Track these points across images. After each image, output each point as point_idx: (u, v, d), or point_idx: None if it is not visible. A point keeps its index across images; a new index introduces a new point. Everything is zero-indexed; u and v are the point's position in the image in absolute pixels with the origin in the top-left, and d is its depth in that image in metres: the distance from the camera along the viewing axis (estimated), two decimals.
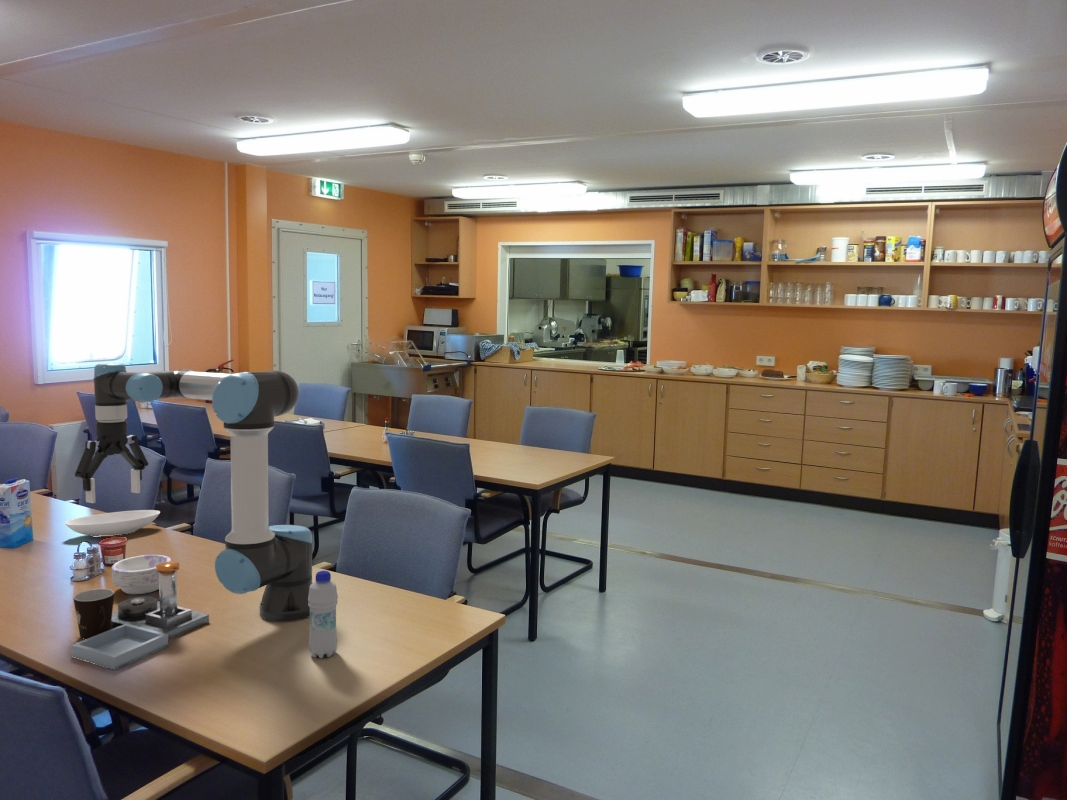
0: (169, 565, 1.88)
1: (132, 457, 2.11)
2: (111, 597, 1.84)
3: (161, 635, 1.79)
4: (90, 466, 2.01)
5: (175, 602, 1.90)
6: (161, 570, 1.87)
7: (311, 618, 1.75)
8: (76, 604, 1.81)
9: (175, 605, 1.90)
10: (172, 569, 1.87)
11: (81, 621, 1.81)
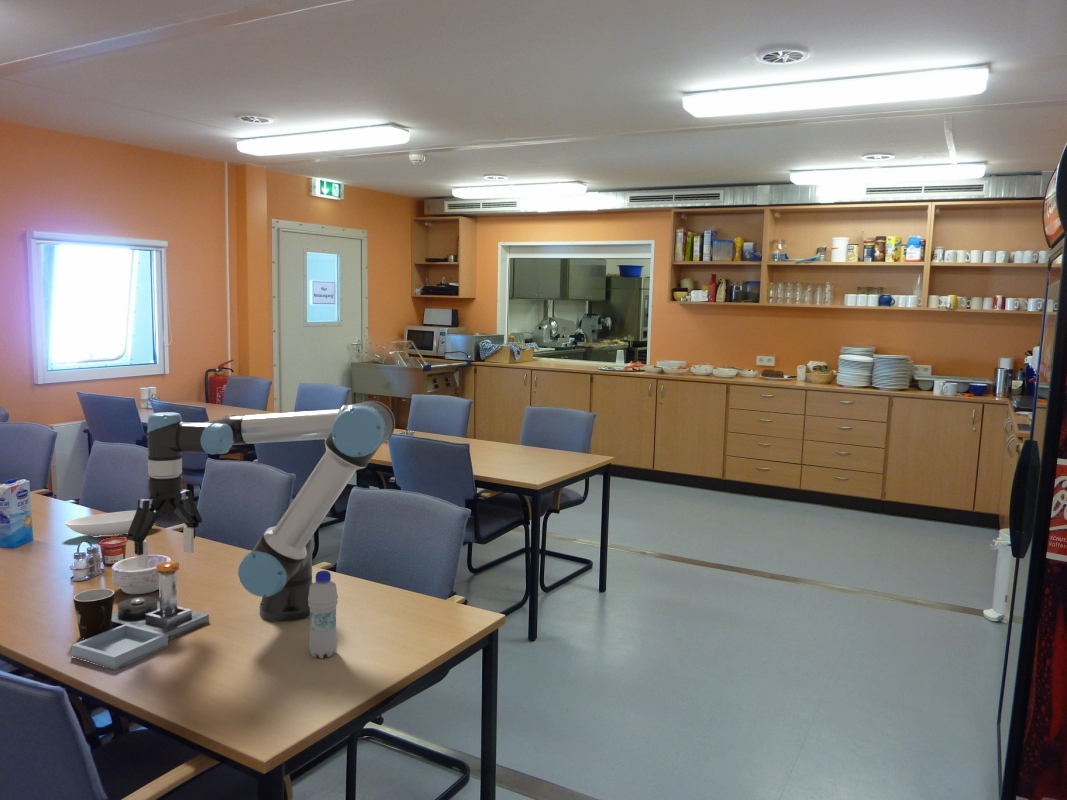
0: (169, 565, 1.88)
1: (186, 514, 1.92)
2: (111, 597, 1.84)
3: (161, 635, 1.79)
4: (142, 527, 1.82)
5: (175, 602, 1.90)
6: (161, 570, 1.87)
7: (311, 618, 1.75)
8: (76, 604, 1.81)
9: (175, 605, 1.90)
10: (172, 569, 1.87)
11: (81, 621, 1.81)
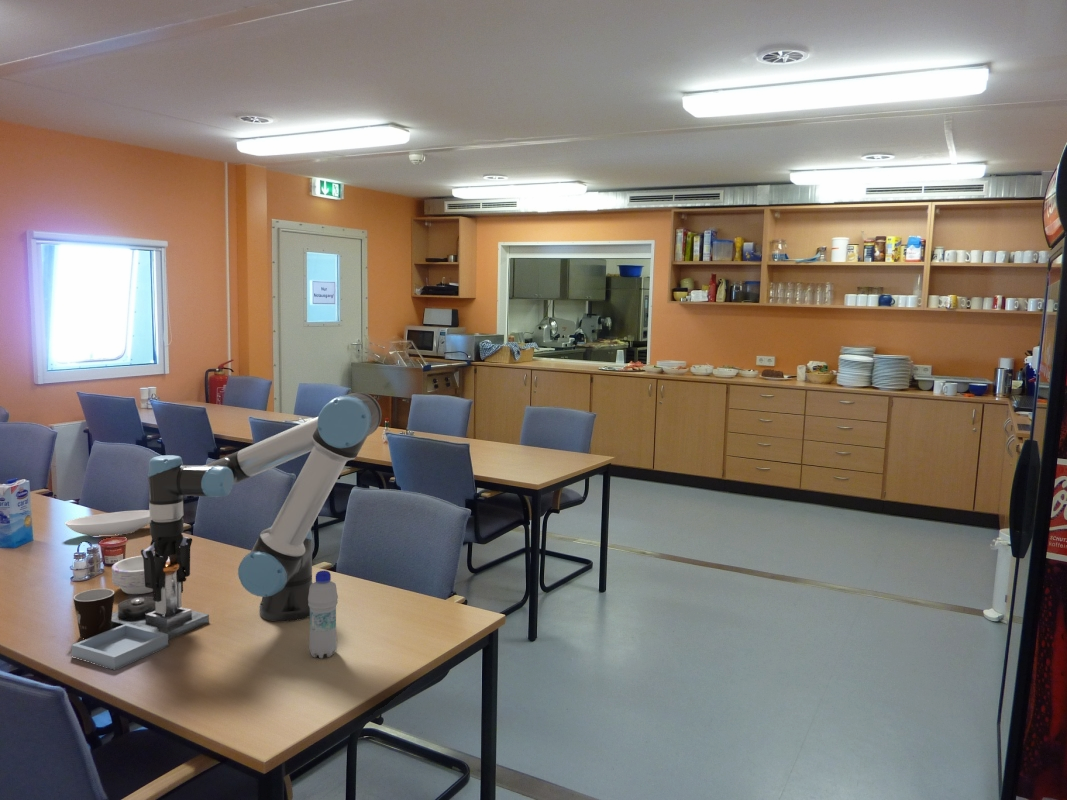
0: (169, 565, 1.88)
1: (179, 564, 1.91)
2: (111, 597, 1.84)
3: (161, 635, 1.79)
4: (156, 575, 1.86)
5: (175, 602, 1.90)
6: None
7: (311, 618, 1.75)
8: (76, 604, 1.81)
9: (175, 605, 1.90)
10: (172, 569, 1.87)
11: (81, 621, 1.81)
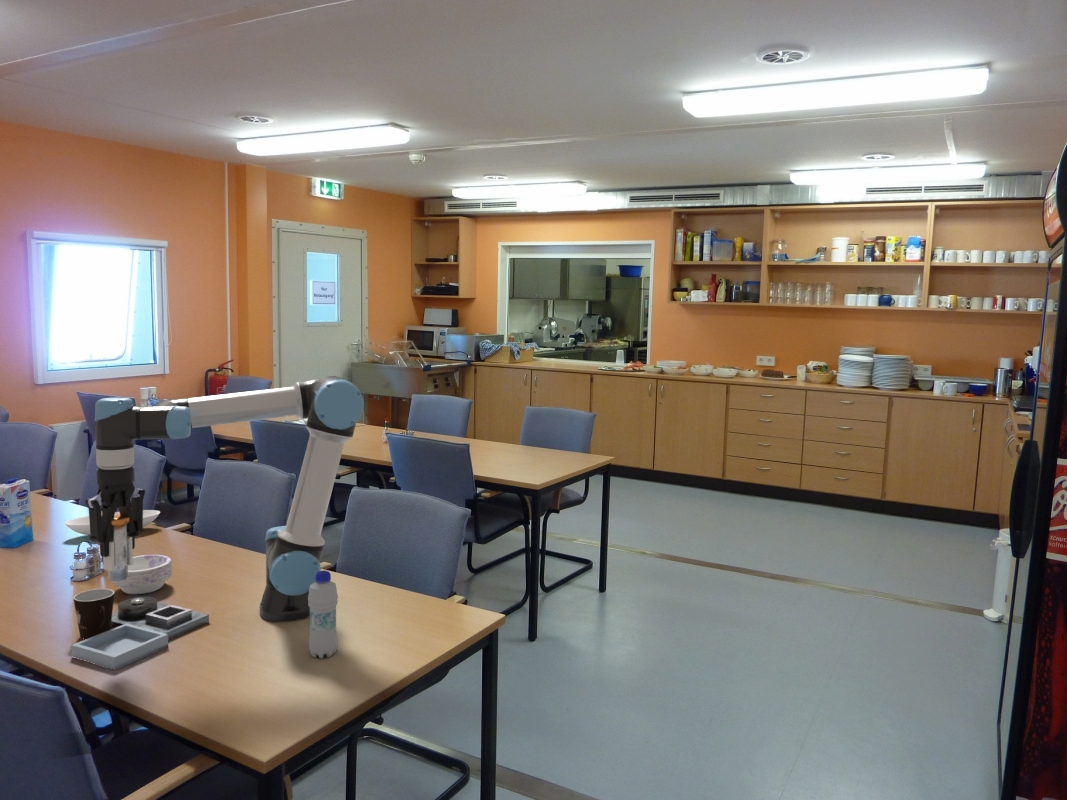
0: (118, 518, 1.72)
1: (130, 517, 1.75)
2: (111, 597, 1.84)
3: (161, 635, 1.79)
4: (103, 527, 1.70)
5: (125, 559, 1.74)
6: None
7: (311, 618, 1.75)
8: (76, 604, 1.81)
9: (125, 562, 1.74)
10: (121, 522, 1.71)
11: (81, 621, 1.81)
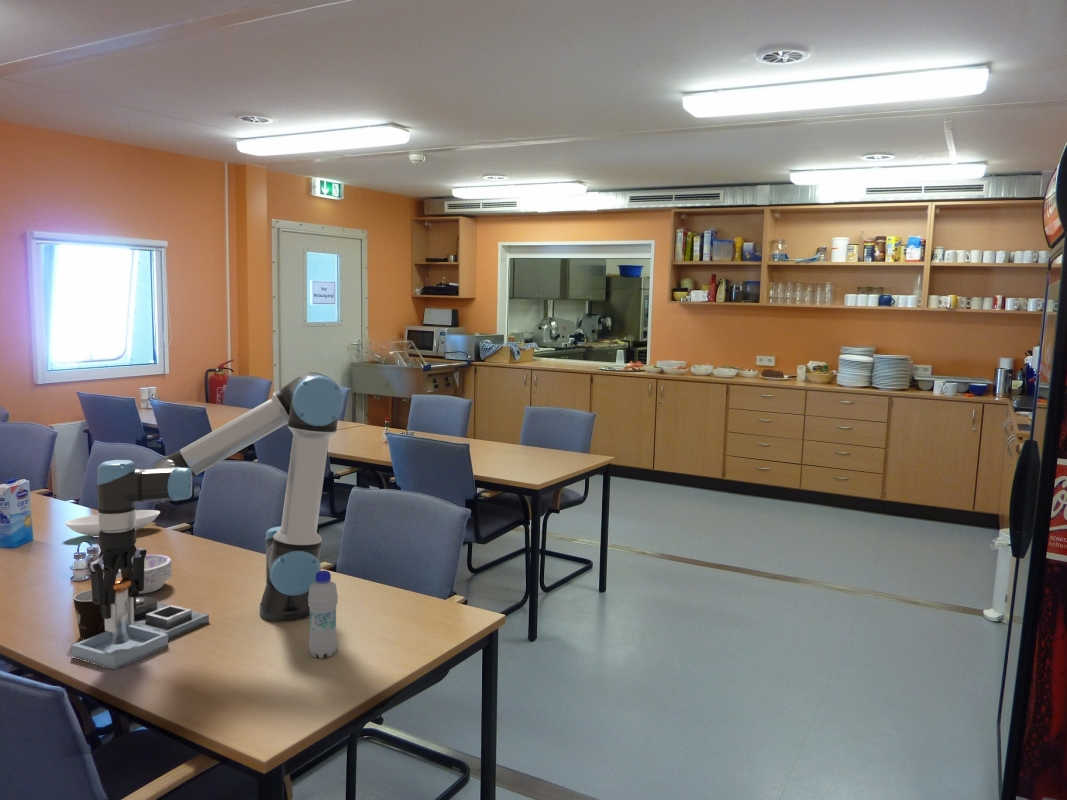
0: (120, 582, 1.74)
1: (131, 577, 1.76)
2: None
3: (161, 635, 1.79)
4: (105, 590, 1.72)
5: (126, 622, 1.75)
6: None
7: (311, 618, 1.75)
8: (76, 604, 1.81)
9: (126, 625, 1.75)
10: (123, 586, 1.73)
11: (81, 621, 1.81)
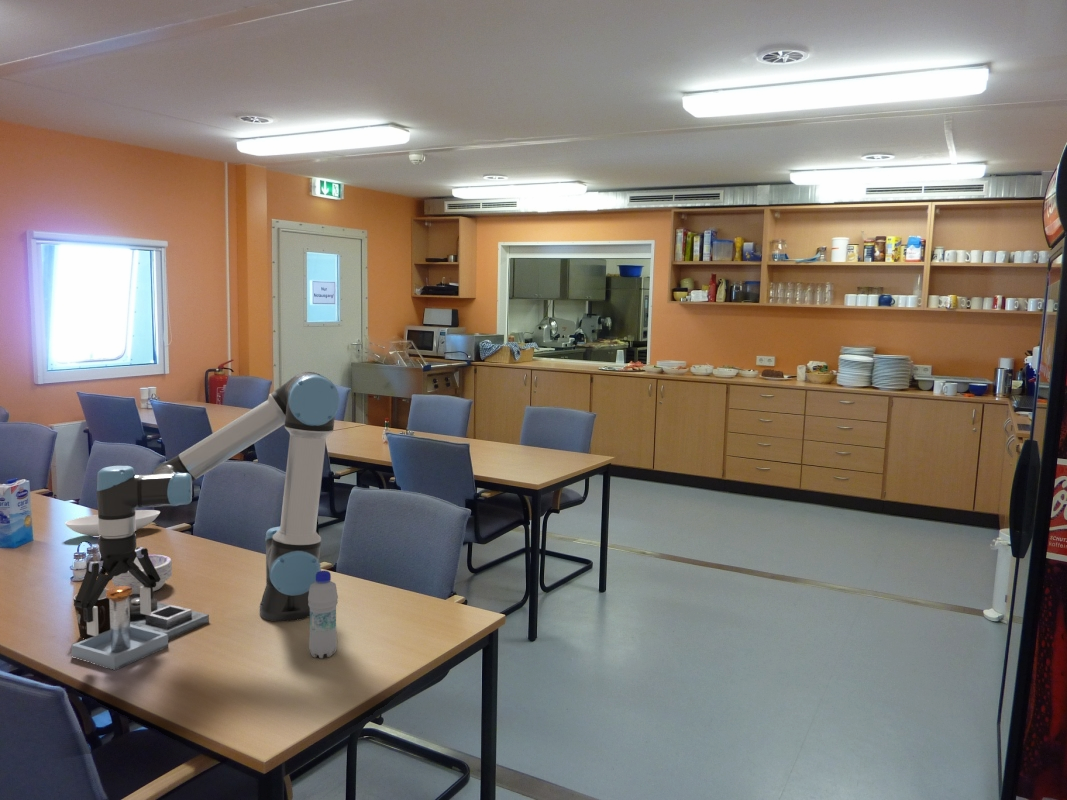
0: (121, 591, 1.74)
1: (142, 574, 1.79)
2: None
3: (161, 635, 1.79)
4: (92, 592, 1.69)
5: (127, 630, 1.75)
6: (111, 596, 1.72)
7: (311, 618, 1.75)
8: None
9: (127, 634, 1.75)
10: (123, 595, 1.73)
11: (81, 621, 1.81)
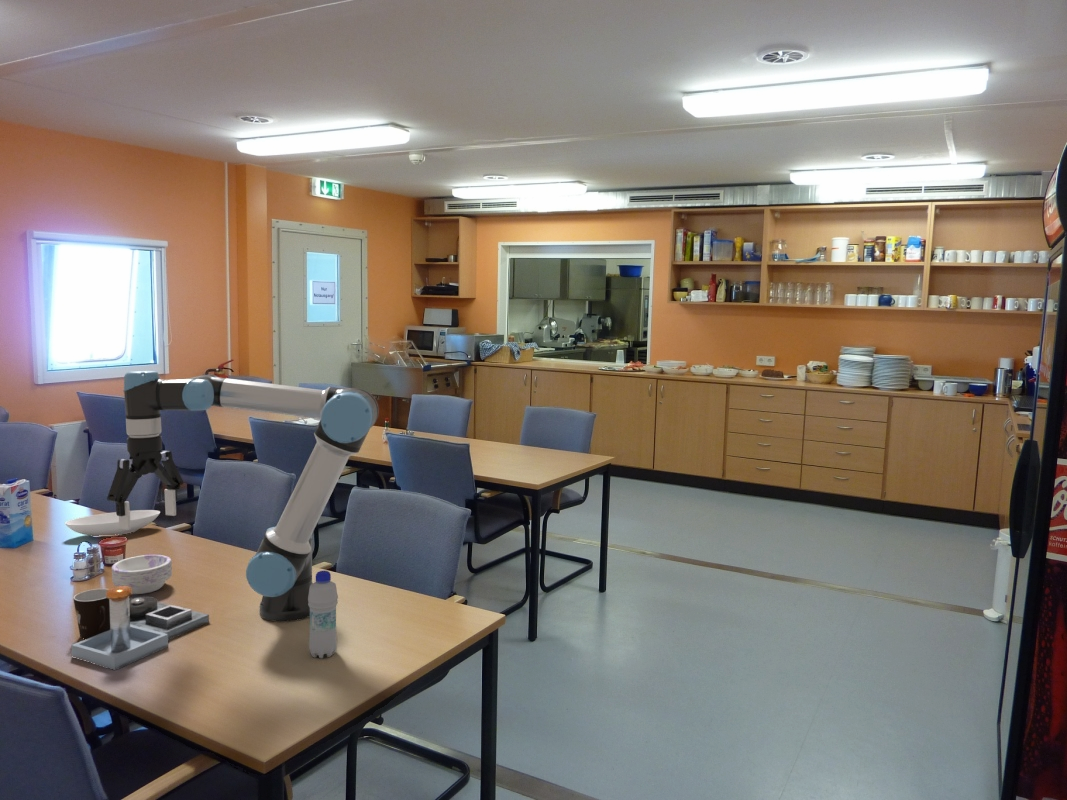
0: (121, 591, 1.74)
1: (167, 476, 1.88)
2: None
3: (161, 635, 1.79)
4: (123, 488, 1.78)
5: (127, 630, 1.75)
6: (111, 596, 1.72)
7: (311, 618, 1.75)
8: (76, 604, 1.81)
9: (127, 634, 1.75)
10: (123, 595, 1.73)
11: (81, 621, 1.81)
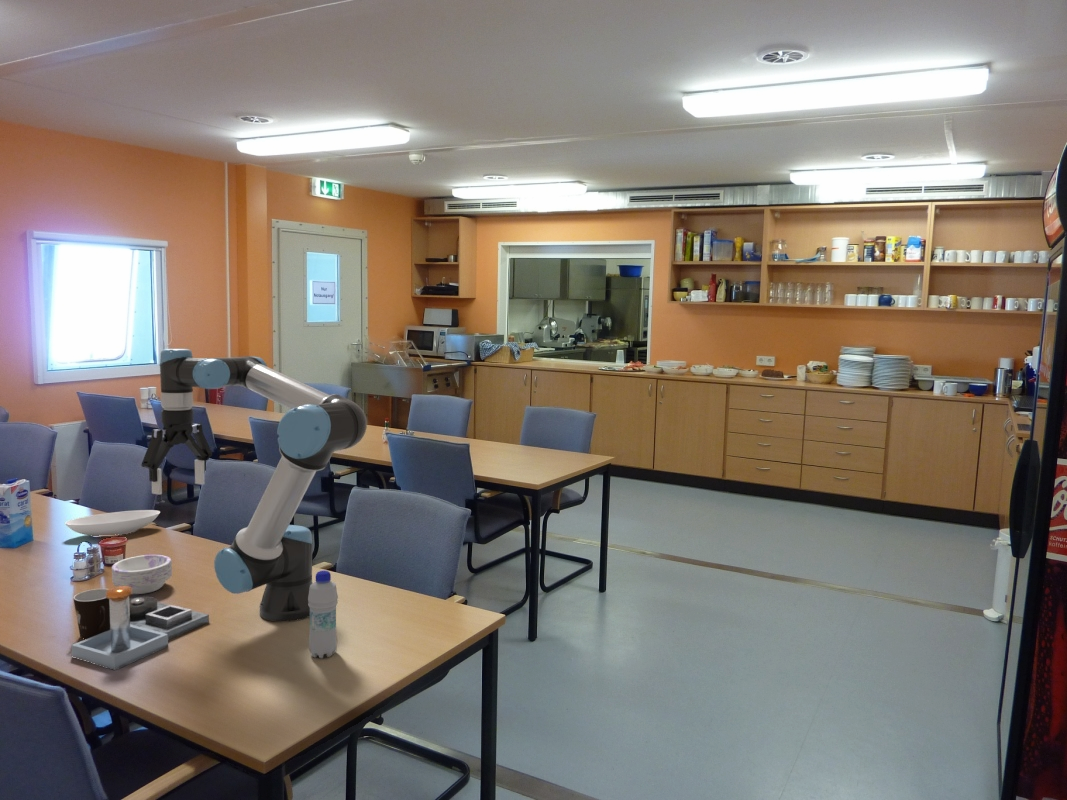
0: (121, 591, 1.74)
1: (197, 447, 2.02)
2: None
3: (161, 635, 1.79)
4: (156, 456, 1.92)
5: (127, 630, 1.75)
6: (111, 596, 1.72)
7: (311, 618, 1.75)
8: (76, 604, 1.81)
9: (127, 634, 1.75)
10: (123, 595, 1.73)
11: (81, 621, 1.81)
